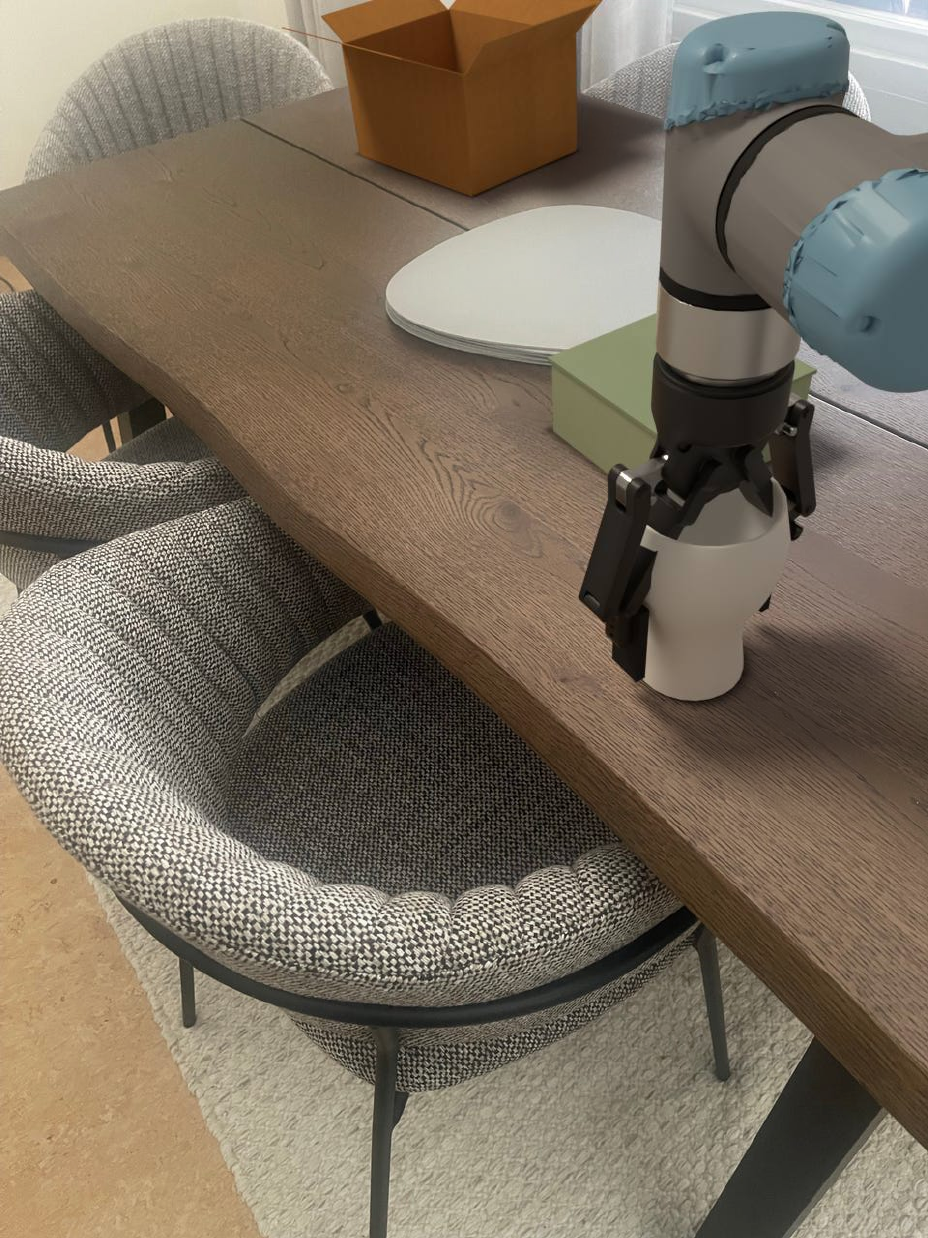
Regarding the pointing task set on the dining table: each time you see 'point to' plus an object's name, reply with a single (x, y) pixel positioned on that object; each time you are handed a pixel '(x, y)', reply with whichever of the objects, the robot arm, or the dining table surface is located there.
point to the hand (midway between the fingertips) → (691, 633)
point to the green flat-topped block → (619, 395)
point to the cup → (711, 592)
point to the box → (463, 85)
